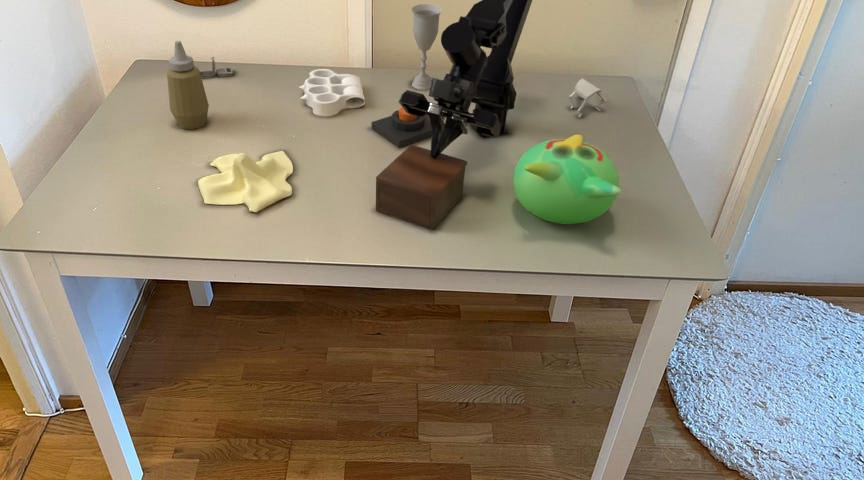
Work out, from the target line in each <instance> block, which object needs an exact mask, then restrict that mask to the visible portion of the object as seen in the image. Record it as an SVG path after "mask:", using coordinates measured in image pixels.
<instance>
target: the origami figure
mask: <svg viewBox="0 0 864 480" xmlns="http://www.w3.org/2000/svg"><path fill="white" fill-rule="evenodd" d="M601 92H602V89H600V88H598V87H597V86H595V85H593V84H592V83H591V82H589V81H588V80H586V79H584V77H583V78H580V80H578V82H576V84H575V88H574V90H573V92H572V93H570V95H569V96H568V98H569V100H570V102H571V104H572V105H571V106H570V110H573V108H574V106H575V104H574V101H573V98H572V96H574V95H575V94H577V95H578V96H579V98H581V99H584V100H583V102H582V103H581V105H580V107H578V109H577V112H578V113H579V115H578V116H577V117H578V118H581V117H582V115H583V112H582V109H583V108H584V106H585V104H586V102H587V100H588V99H590V98H591V97H592V96H594V95H595V94H596V95H597V96H598V97H599V99H601V100H598V101H596V102H595V103H593V104H592V107H594V108H595V109H596V110H597V111H599V112H601V109H600V108H598V107H597V106H599V105H601V104H605V103H607V102H608V100H607V99H606V97H604V95H603V93H601Z"/></svg>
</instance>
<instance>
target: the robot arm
mask: <svg viewBox="0 0 864 480" xmlns="http://www.w3.org/2000/svg"><path fill="white" fill-rule="evenodd" d="M532 3H533V0H480V1H478V2H476V3H474V4H473V5H472V7H471V8H470V10H469V11H468V12H467V14H466V15H465V16H462V15H461V16H459V19H458V21H456V22H453V23H451V24H449V25H448V26H446V28H445V29H443V31H442V33H441V36H440V43H441V46H442V48H443V50H444V51H445V55H446V56H447V57H448V59H449V61H450V63H451V64H452V65H451V68H450V70H449V73H446V74H445V75H444V77H443V79H439V78H435V77H433V78H432V80H431V83H432V84H431V88H429V92H428V97H430V98H433V100H434V101H435V102H437V103H435V102H430V101H429V100H428V99H427V98H426V96H425V94H423V93H420V92H416V91H413V90H409V89H406V91H404V92H403V93H402V94H401V95H400V98H399V100H398V103H399V105H400V106H401V107H403V108H404V110H405V111H406V112H407V113H408V114H411V115H414V116H418V117H421V118H422V117H424V116H426V117H427V118H428V120H429V121H430V122H431V131H432V137H430V139H431V140H430V150H431V157H433V158H437V157H438V156H439V154H440V153H443V152H444V151H445V150H446V149H447V148H448V147H449V146H450V144H452V143H453V142H454V141H456V140H457V139H458V138H459V137H460V136H461V135H468V133H469V131H468V128H469V126H470V127H471V128H472V129H473V131H474V132H476V134H477V135H478V136H479V137H480V138H482V139H485V138H490V137H491V138H493V139H498V138H499V136H501V135H506V134H509V130H508V129H507V128H506V124H507V116H508V111H510V110H514V109H515V104H516V101H517V94H518V93H517V90H516V88H515V86H514V84H513V83H514V80H515V77H514V73H513V67H512V62H513V58H514V55H515V53H516V50H517V46H518V44H519V41H520V38H521V35H522V33H523V30H524V26H525V24H526V20H527V17H528V15H529V12H530V9H531V6H532ZM481 47H483V48H486V49H491V50H490V53H489V55H487V52H486V51H485V50H484V49H483V48H481ZM472 103H473V104H475V106H474V108H473V110H472V112H470V111H469V110H470V108H471V105H472Z"/></svg>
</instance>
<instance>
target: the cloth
mask: <svg viewBox="0 0 864 480" xmlns="http://www.w3.org/2000/svg"><path fill="white" fill-rule="evenodd" d="M209 165H210V166H211V167H216V168H217V170H218V171H219V172H220V173H215V174H210V175H207V176H203V177H201V178H200V179H198V181H197V184H198V185H197V186H198V188H199V191H200V194H201V196H202V199H203V203H204V204H206V205H216V206H236V205H237V206H238V205H242V204H245V205H246V206H247V208H248V210H249V212H253V213H258V212H259V211H261V210H263V209H265V208H266V207H268V206H270V205H272V204H274V203H276V202H279V201H280V200H283V199H285V198H288V197H291V196H292V194H293V188H292V185H291V184H290V183H288V181H287V179H288V178H289V177H291V175H292V174H293V172H294V166H293V163H292V161H291V159H290V158H289V157H288V155H287V154H286V153H285V151H283V150H280V151H275V152H270V153H267V154H265V155H263V156H262V157H261V160H259V161H256V162H255V160H254V159H252V158H251V157H249V156H248V155H247V154H245V152H243V151H242V152H240V153H236V152H235V153H229V154H225V155H222V156H219V157H215V159H213V161H212V162H211V163H209Z"/></svg>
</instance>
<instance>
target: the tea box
mask: <svg viewBox="0 0 864 480" xmlns="http://www.w3.org/2000/svg"><path fill="white" fill-rule="evenodd" d="M465 174H466V167H465V168H464V169H463V170H462V171H461V172H460V173H459V174H458V175H457V176H456V177H455V179H454V180H453V181H452V182H451V183H450V184H449V185H448V186H447V187H446V188H445V190H444V191H443V192H442V193H441V194H440V195H439V196H438V197H437V198H436V199H431V198H428V197H425V196H422V195H419V194H416V193H413V192H410V191H407V190H404V189H401V188H397V187H394V186H391V185H388V184H385V183H382V182H379V181H376V180H375V212H378V213H381V214H384V215H386V216H390V217H393V218H395V219H398V220H401V221H405V222H408V223H410V224H413V225H416V226H419V227H422V228H424V229H428V230H431V231H434V229H435V228H437V226H438V225H439V224H440V223H441V221H443V219H444V218H445V217H446V215H447V214H448V213H449V212H450V211H451V209H453V208H454V206H455V205H456V204H457V203H458V202H459V200H460V199H461V198H462V197H463V192H464V183H465Z"/></svg>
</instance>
